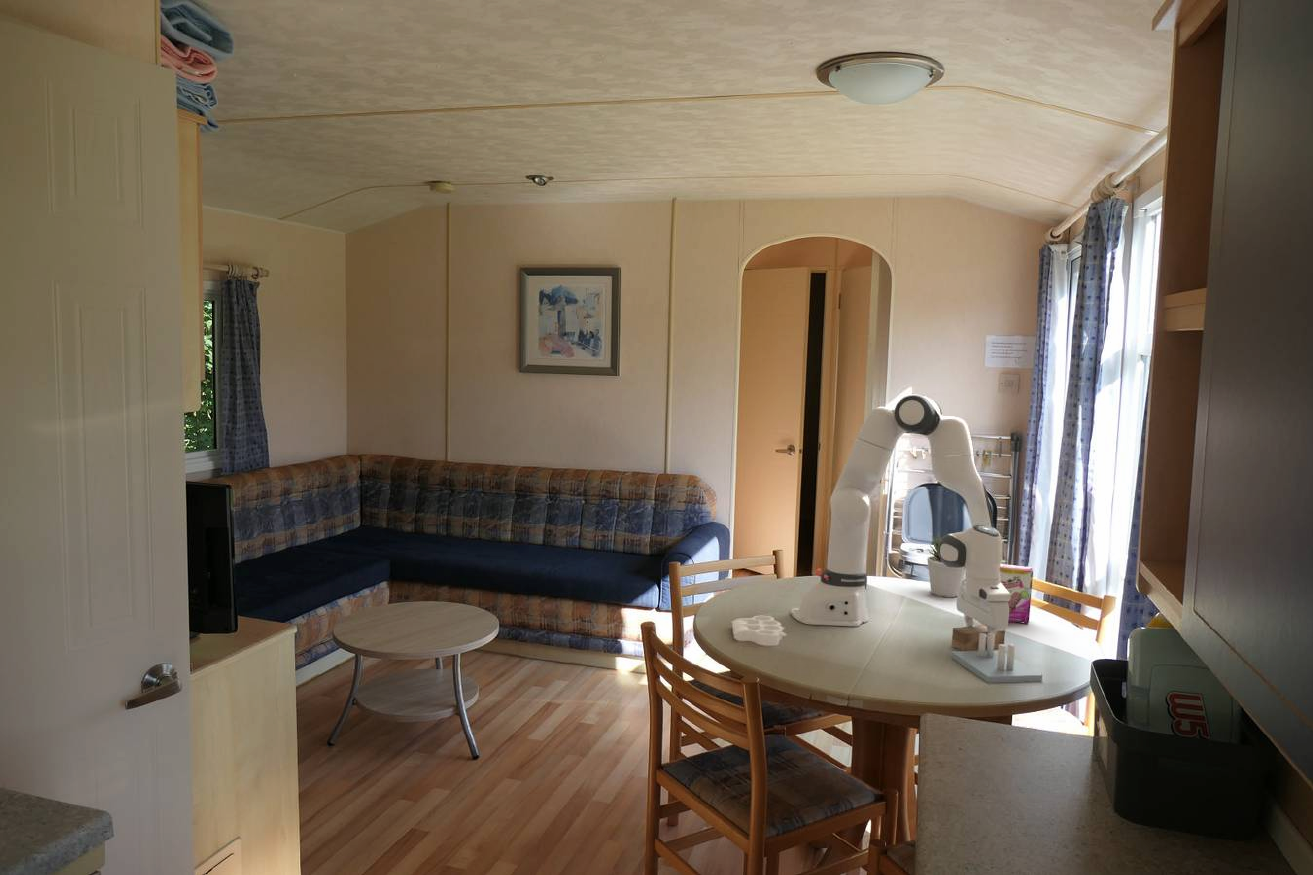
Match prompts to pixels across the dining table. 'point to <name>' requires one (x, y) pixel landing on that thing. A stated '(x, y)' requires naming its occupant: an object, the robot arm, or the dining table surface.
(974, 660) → the peg stand
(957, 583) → the potted plant
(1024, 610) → the candy bar box
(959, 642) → the walnut wood block
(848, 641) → the dining table surface
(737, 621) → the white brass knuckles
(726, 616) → the dining table surface
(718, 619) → the dining table surface
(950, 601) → the dining table surface
